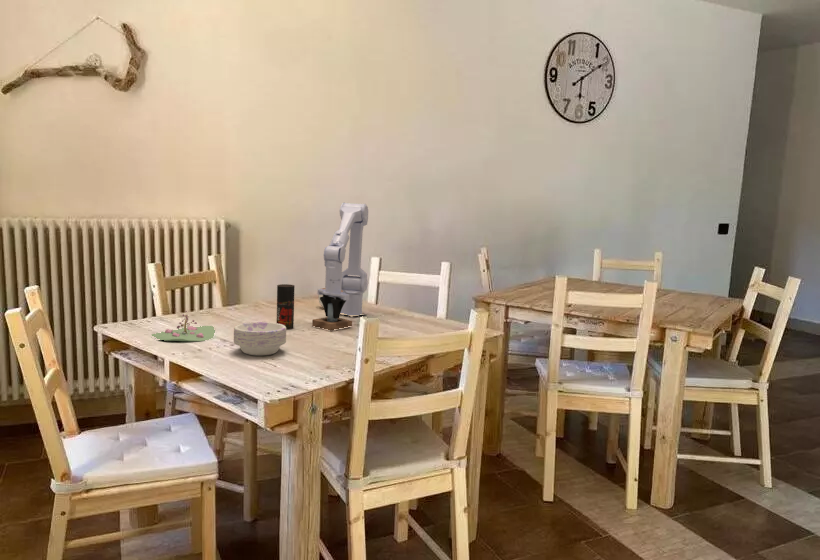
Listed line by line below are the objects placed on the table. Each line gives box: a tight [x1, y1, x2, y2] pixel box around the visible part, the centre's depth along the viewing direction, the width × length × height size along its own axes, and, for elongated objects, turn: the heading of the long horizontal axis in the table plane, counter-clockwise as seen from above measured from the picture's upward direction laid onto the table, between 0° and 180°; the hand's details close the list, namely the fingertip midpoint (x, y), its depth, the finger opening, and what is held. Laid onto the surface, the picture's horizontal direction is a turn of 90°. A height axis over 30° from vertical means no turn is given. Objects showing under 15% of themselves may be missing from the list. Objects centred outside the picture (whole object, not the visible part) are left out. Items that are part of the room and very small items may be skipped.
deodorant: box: [276, 283, 295, 331], centre depth 221 cm, size 6×6×15 cm
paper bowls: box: [233, 321, 287, 357], centre depth 188 cm, size 15×15×8 cm
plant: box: [151, 310, 216, 342], centre depth 206 cm, size 25×21×9 cm
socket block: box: [311, 316, 353, 330], centre depth 227 cm, size 10×10×2 cm
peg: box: [327, 303, 338, 322], centre depth 226 cm, size 4×4×7 cm
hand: (332, 317), depth 226 cm, fingers closed on peg, 3 cm apart
